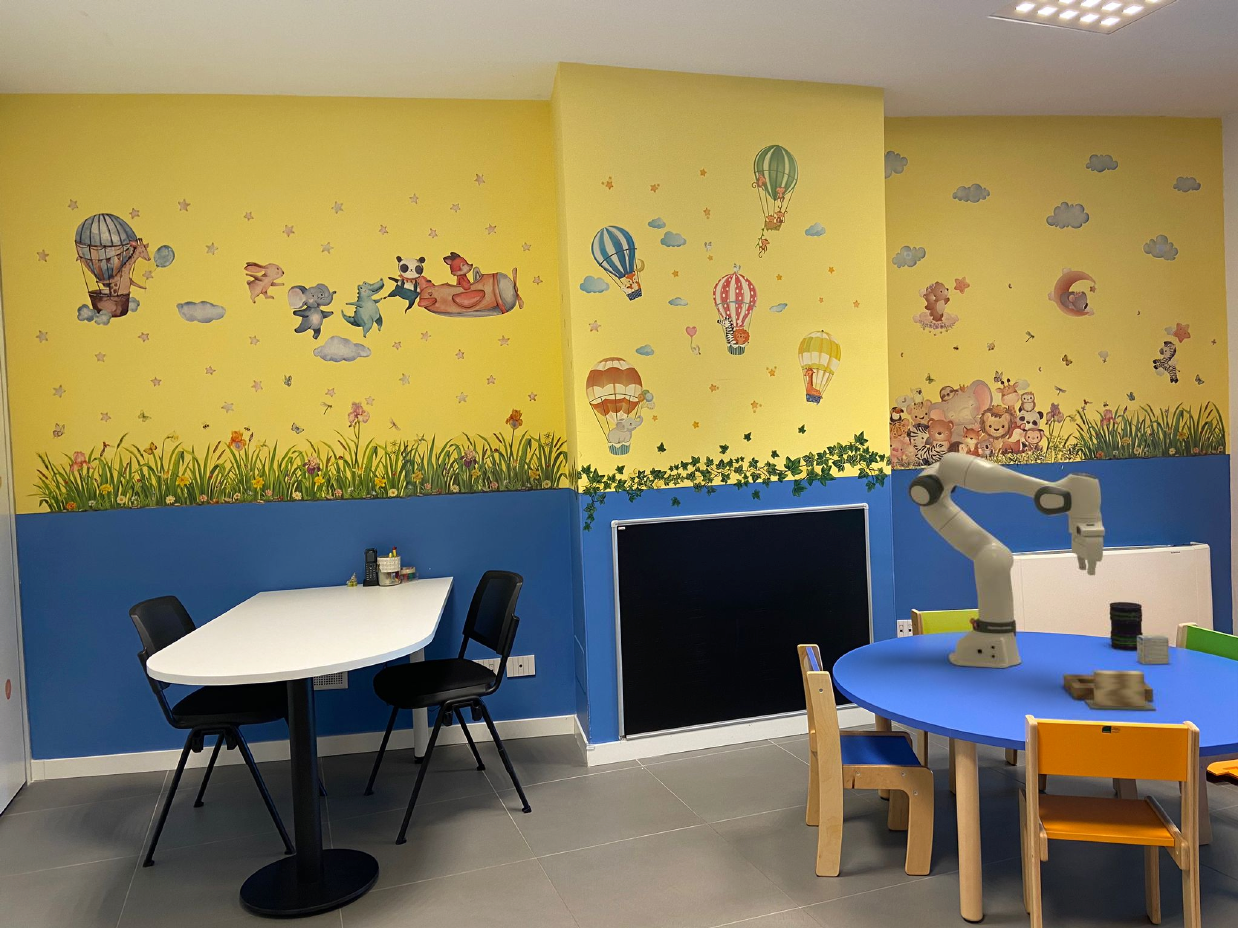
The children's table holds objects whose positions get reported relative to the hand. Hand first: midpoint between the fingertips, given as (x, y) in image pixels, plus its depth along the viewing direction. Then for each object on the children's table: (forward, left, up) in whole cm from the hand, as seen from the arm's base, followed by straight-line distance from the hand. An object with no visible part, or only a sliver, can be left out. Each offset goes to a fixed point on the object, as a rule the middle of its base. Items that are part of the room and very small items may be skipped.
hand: (1086, 572), depth 266 cm
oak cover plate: (+2, -21, -34) cm, 40 cm away
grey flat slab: (+2, -21, -34) cm, 40 cm away
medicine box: (+25, +26, -34) cm, 50 cm away
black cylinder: (+23, +46, -34) cm, 62 cm away
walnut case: (+2, -9, -34) cm, 35 cm away
